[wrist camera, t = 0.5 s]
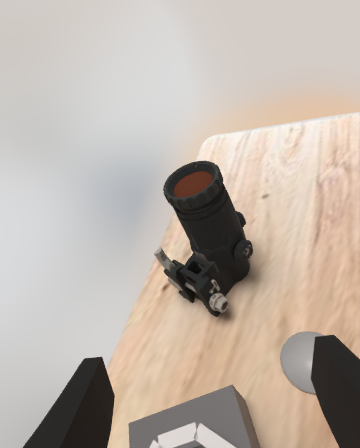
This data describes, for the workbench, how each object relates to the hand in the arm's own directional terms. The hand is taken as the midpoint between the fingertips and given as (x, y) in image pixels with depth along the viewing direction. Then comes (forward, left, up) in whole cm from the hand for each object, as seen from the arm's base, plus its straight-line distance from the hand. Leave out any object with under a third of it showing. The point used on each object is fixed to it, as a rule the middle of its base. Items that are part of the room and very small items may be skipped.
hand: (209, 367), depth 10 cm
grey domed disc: (+6, -5, -19) cm, 20 cm away
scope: (+18, -1, -19) cm, 26 cm away
